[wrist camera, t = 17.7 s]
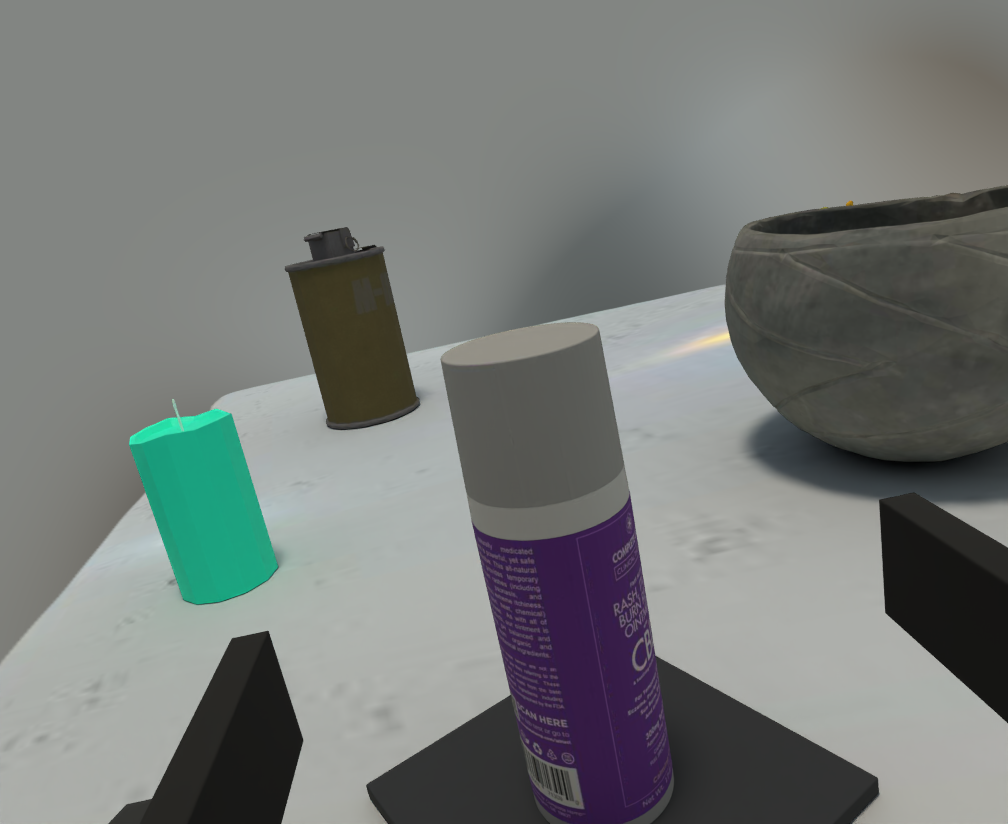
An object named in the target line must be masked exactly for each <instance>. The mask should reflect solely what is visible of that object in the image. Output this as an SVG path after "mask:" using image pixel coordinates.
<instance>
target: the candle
mask: <svg viewBox="0 0 1008 824" xmlns="http://www.w3.org/2000/svg"><path fill="white" fill-rule="evenodd" d="M172 403H173V406H174V409H175V412H176V415H177V417H176V418H167V419H165V420H163V421H161V422H158V423H156V424H154V425H151V426H149V427H147V428H145V429H143V430H141V431H140V432H138V433H136V434H135V435H133V436H131V437H130V443H129V446H130V449H131V451H132V454H133V457H134V460H135V463H136V466H137V469H138V471H139V474H140V477H141V480H142V483H143V485H144V488H145V491H146V494H147V497H148V500H149V503H150V506H151V509H152V511H153V514H154V517H155V520H156V523H157V526H158V529H159V531H160V534H161V537H162V540H163V543H164V546H165V549H166V551H167V554H168V557H169V560H170V563H171V566H172V569H173V571H174V574H175V577H176V580H177V583H178V586H179V589H180V591H181V594H182V597H183V600H186V601H188V602H191V603H194V604H204V603H213V602H221V601H224V600H227V599H229V598H232V597H235V596H238V595H241V594H244V593H247V592H248V591H250V590H252V589H253V588H255V587H257V586H258V585H260V584H262V583H263V582H265V581H267V580H268V579H269V578H270V577H271V575H272V574H273V573H274V572H275V571H276V569H277V568H278V564H277V561H276V558H275V554H274V551H273V548H272V545H271V541H270V538H269V535H268V532H267V528H266V525H265V522H264V518H263V515H262V512H261V509H260V505H259V502H258V499H257V496H256V492H255V489H254V486H253V483H252V479H251V476H250V473H249V469H248V466H247V463H246V460H245V456H244V453H243V450H242V447H241V443H240V440H239V437H238V434H237V430H236V427H235V424H234V420H233V417H232V414H230V413H227V412H225V411H222V410H219V409H214V410H211V411H208V412H206V413H203V414H200V415H197V416H191V417H180V416H179V413H178V410H177V407H176V404H175V401H174V399H172Z"/></svg>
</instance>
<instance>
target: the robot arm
mask: <svg viewBox="0 0 1008 824" xmlns="http://www.w3.org/2000/svg"><path fill="white" fill-rule="evenodd" d="M879 505H880V523H881V542H882V560H883V578H884V597H885V613H886V614H887V615H888V616H889V617H890V618H892V619H893V620H894V621H895V622H896V623H897V624H898V625H899V626H900V627H902V628H903V629H904V630H905V631H906V632H907V633H908V634H909V635H911V636H912V637H913V638H914V639H915V640H916V641H917V642H918V643H919V644H921V645H922V646H923V647H924V648H925V649H926V650H927V651H928V652H929V653H931V654H932V655H933V656H934V657H935V658H936V659H937V660H938V661H939V662H941V663H942V664H943V665H944V666H945V667H946V668H947V669H948V670H949V671H951V672H952V673H953V674H954V675H955V676H956V677H957V678H958V679H959V680H961V681H962V682H963V683H964V684H965V685H966V686H967V687H968V688H969V689H971V690H972V691H973V692H974V693H975V694H976V695H977V696H978V697H979V698H981V699H982V700H983V701H984V702H985V703H986V704H987V705H988V706H989V707H991V708H992V709H993V710H994V711H995V712H996V713H997V714H998V715H999V716H1001V717H1002V718H1003V719H1004V720H1005V721H1006V722H1007V723H1008V548H1007V547H1006V546H1004V545H1002V544H1001V543H999V542H997V541H996V540H994V539H992V538H990V537H989V536H987V535H985V534H984V533H982V532H980V531H979V530H977V529H975V528H973V527H972V526H970V525H968V524H967V523H965V522H963V521H962V520H960V519H958V518H957V517H955V516H953V515H951V514H950V513H948V512H946V511H945V510H943V509H941V508H940V507H938V506H936V505H934V504H933V503H931V502H929V501H928V500H926V499H924V498H923V497H921V496H919V495H917V494H916V493H909V494H904V495H900V496H895V497H890V498H886V499H881V500H879ZM302 744H303V737H302V734H301V731H300V728H299V725H298V722H297V719H296V715H295V712H294V709H293V706H292V703H291V700H290V697H289V694H288V690H287V687H286V684H285V681H284V678H283V675H282V672H281V669H280V665H279V662H278V659H277V656H276V653H275V650H274V647H273V644H272V640H271V637H270V634H269V631H265V632H260V633H256V634H251V635H246V636H242V637H237V638H232V639H231V641H230V643H229V645H228V647H227V649H226V651H225V653H224V655H223V657H222V659H221V661H220V663H219V665H218V667H217V669H216V671H215V673H214V675H213V677H212V679H211V681H210V683H209V686H208V688H207V690H206V692H205V694H204V696H203V698H202V700H201V702H200V704H199V706H198V708H197V710H196V712H195V714H194V716H193V718H192V720H191V722H190V724H189V726H188V728H187V730H186V732H185V734H184V736H183V738H182V740H181V742H180V744H179V746H178V748H177V750H176V752H175V754H174V756H173V758H172V760H171V762H170V764H169V766H168V768H167V770H166V772H165V774H164V776H163V778H162V780H161V782H160V784H159V786H158V788H157V790H156V792H155V794H154V796H153V798H152V799H150V800H145V801H140V802H136V803H131V804H127V805H126V806H125V807H124V808H123V809H122V810H121V811H120V812H119V813H118V814H117V815H116V816H115V817H114V818H113V819H112V820H111V822H110V823H109V824H281V823H282V819H283V815H284V811H285V807H286V804H287V800H288V796H289V792H290V789H291V785H292V781H293V777H294V774H295V770H296V766H297V762H298V759H299V755H300V751H301V747H302Z"/></svg>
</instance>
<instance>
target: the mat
mask: <svg viewBox="0 0 1008 824" xmlns="http://www.w3.org/2000/svg"><path fill="white" fill-rule="evenodd" d="M655 657H656V663H657V670H658V676H659V683H660V689H661V695H662V702H663V708H664V715H665V721H666V728H667V734H668V740H669V747H670V753H671V760H672V768H673V775H674V787H673V792H672V796H671V798H670V801H669V803H668V804H667V806H666V808H665V809H664V810H663V812H662V813H661V814H660V815H659V816H658V817H657V818H656V819H655V820H654V821H653V822H652V823H650V824H849V823H850V822H851V821H852V820H853V819H854V818H855V817H856V816H857V815H858V814H859V813H860V812H861V811H862V810H863V809H864V808H865V807H866V806H867V804H868V803H869V802H870V801H871V800H872V799H873V798H874V797H875V796H876V795H877V794H878V793H879V788H878V778H877V777H875V776H873V775H872V774H870V773H868V772H866V771H864V770H863V769H861V768H859V767H857V766H855V765H853V764H852V763H850V762H848V761H846V760H844V759H842V758H841V757H839V756H837V755H835V754H833V753H832V752H830V751H828V750H826V749H824V748H822V747H821V746H819V745H817V744H815V743H813V742H812V741H810V740H808V739H806V738H804V737H802V736H801V735H799V734H797V733H795V732H793V731H791V730H790V729H788V728H786V727H784V726H782V725H781V724H779V723H777V722H775V721H773V720H771V719H770V718H768V717H766V716H764V715H762V714H761V713H759V712H757V711H755V710H753V709H751V708H750V707H748V706H746V705H744V704H742V703H740V702H739V701H737V700H735V699H733V698H731V697H730V696H728V695H726V694H724V693H722V692H720V691H719V690H717V689H715V688H713V687H711V686H710V685H708V684H706V683H704V682H702V681H700V680H699V679H697V678H695V677H693V676H691V675H689V674H688V673H686V672H684V671H682V670H680V669H679V668H677V667H675V666H673V665H671V664H669V663H668V662H666V661H664V660H662V659H660V658H659V657H657V656H655ZM366 787H367V790H368V794H369V797H370V799H371V800H372V801H373V803H374V804H375V806H376V807H377V808H378V810H379V811H380V813H381V814H382V815H383V817H384V818H385V819H386V821H387V822H388V824H550V823H549V822H548V821H547V820H546V819H545V818H544V816H543V815H542V814H541V812H540V811H539V809H538V807H537V804H536V802H535V798H534V794H533V790H532V786H531V782H530V778H529V773H528V769H527V764H526V760H525V755H524V751H523V746H522V742H521V738H520V733H519V729H518V724H517V720H516V715H515V711H514V707H513V702H512V698H511V695H510V696H508V697H507V698H505V699H504V700H502V701H500V702H499V703H497V704H495V705H494V706H492V707H491V708H489V709H487V710H486V711H484V712H483V713H481V714H479V715H478V716H476V717H475V718H473V719H471V720H470V721H468V722H466V723H465V724H463V725H462V726H460V727H458V728H457V729H455V730H454V731H452V732H450V733H449V734H447V735H446V736H444V737H442V738H441V739H439V740H438V741H436V742H434V743H433V744H431V745H429V746H428V747H426V748H425V749H423V750H421V751H420V752H418V753H417V754H415V755H413V756H412V757H410V758H409V759H407V760H405V761H404V762H402V763H400V764H399V765H397V766H396V767H394V768H392V769H391V770H389V771H388V772H386V773H384V774H383V775H381V776H380V777H378V778H376V779H375V780H373V781H372V782H370V783H368V784H367V785H366Z"/></svg>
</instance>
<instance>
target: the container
mask: <svg viewBox="0 0 1008 824" xmlns="http://www.w3.org/2000/svg"><path fill="white" fill-rule="evenodd" d="M441 364H442V370H443V375H444V380H445V385H446V390H447V395H448V400H449V405H450V411H451V416H452V421H453V426H454V431H455V436H456V441H457V446H458V452H459V457H460V462H461V467H462V472H463V477H464V482H465V488H466V492H467V498H468V503H469V508H470V513H471V519H472V525H473V529H474V533H475V538H476V542H477V547H478V551H479V556H480V560H481V565H482V569H483V573H484V578H485V582H486V587H487V591H488V596H489V600H490V604H491V609H492V613H493V618H494V622H495V627H496V631H497V636H498V640H499V644H500V649H501V653H502V658H503V662H504V667H505V671H506V675H507V680H508V684H509V689H510V693H511V698H512V702H513V707H514V711H515V715H516V720H517V724H518V729H519V733H520V738H521V742H522V746H523V751H524V755H525V760H526V764H527V769H528V773H529V778H530V782H531V786H532V790H533V794H534V798H535V802H536V804H537V807H538V809H539V811H540V812H541V814H542V815H543V816H544V818H545V819H546V820H547V821H548V822H549V823H550V824H650V823H652V822H653V821H654V820H655V819H656V818H657V817H658V816H659V815H660V814H661V813H662V812H663V810H664V809H665V808H666V806H667V804H668V803H669V801H670V798H671V796H672V792H673V787H674V775H673V768H672V760H671V753H670V747H669V740H668V734H667V728H666V721H665V715H664V708H663V702H662V695H661V689H660V683H659V676H658V670H657V663H656V657H655V651H654V644H653V638H652V631H651V625H650V619H649V612H648V606H647V599H646V593H645V587H644V580H643V574H642V567H641V561H640V555H639V548H638V542H637V535H636V529H635V522H634V516H633V510H632V503H631V497H630V491H629V487H628V481H627V476H626V471H625V466H624V461H623V455H622V450H621V445H620V439H619V434H618V428H617V423H616V418H615V412H614V407H613V402H612V396H611V391H610V385H609V380H608V375H607V369H606V364H605V358H604V353H603V348H602V342H601V337H600V332H599V328H598V327H597V326H595V325H593V324H589V323H576V322H569V323H554V324H545V325H537V326H531V327H525V328H519V329H514V330H510V331H505V332H500V333H496V334H492V335H488V336H485V337H481V338H478V339H475V340H472V341H469V342H466V343H463V344H461V345H459V346H456V347H454V348H452V349H450V350H449V351H447V352H446V353H444V354H443V355H442V357H441Z"/></svg>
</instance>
